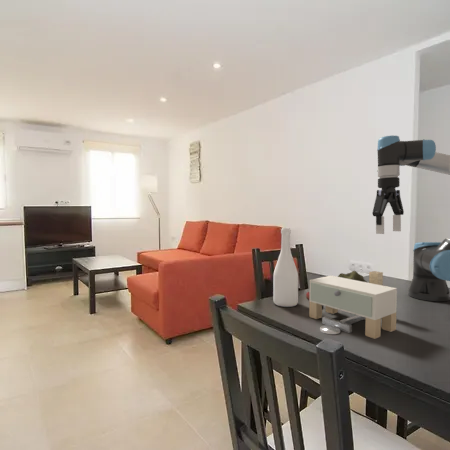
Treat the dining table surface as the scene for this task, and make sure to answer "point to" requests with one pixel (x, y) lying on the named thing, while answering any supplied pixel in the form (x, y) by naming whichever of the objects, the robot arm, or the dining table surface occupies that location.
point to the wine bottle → (285, 275)
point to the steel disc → (330, 329)
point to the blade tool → (345, 323)
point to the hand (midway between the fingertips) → (388, 232)
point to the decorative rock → (352, 276)
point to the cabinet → (355, 301)
